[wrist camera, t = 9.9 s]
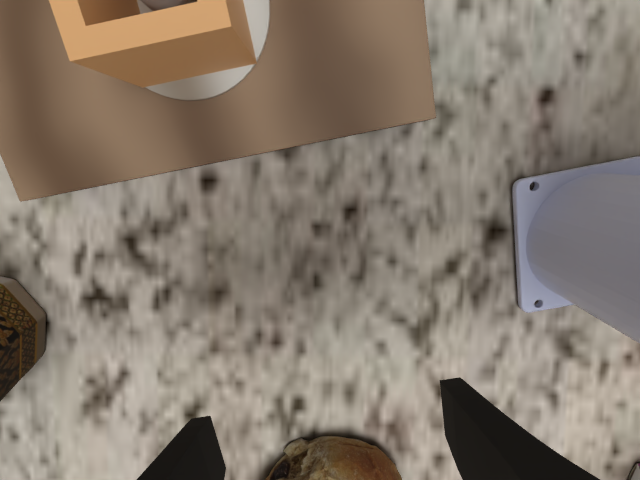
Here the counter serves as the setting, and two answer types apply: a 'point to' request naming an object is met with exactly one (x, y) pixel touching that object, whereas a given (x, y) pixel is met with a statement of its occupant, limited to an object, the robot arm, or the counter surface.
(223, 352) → the counter surface
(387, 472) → the bread roll
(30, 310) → the ceramic cup
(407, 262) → the counter surface
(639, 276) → the robot arm
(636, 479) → the candy bar box
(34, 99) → the post board
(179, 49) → the collar
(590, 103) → the counter surface
